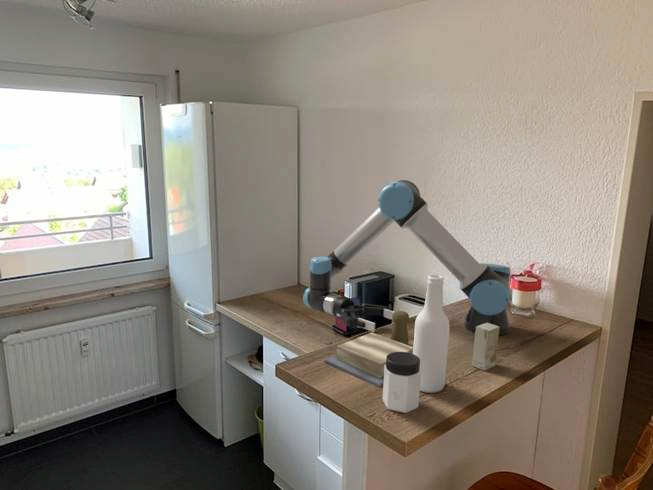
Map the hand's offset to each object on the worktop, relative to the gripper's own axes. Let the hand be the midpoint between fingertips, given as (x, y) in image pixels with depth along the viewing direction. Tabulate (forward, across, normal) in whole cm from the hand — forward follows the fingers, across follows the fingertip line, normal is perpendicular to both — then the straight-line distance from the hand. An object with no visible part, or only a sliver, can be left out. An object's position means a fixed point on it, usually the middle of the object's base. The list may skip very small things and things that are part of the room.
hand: (387, 322), depth 159 cm
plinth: (+8, +16, -6) cm, 18 cm away
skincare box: (+31, -6, -6) cm, 32 cm away
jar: (+27, +30, -6) cm, 40 cm away
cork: (+5, 0, -6) cm, 8 cm away
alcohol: (+26, +16, -6) cm, 32 cm away
